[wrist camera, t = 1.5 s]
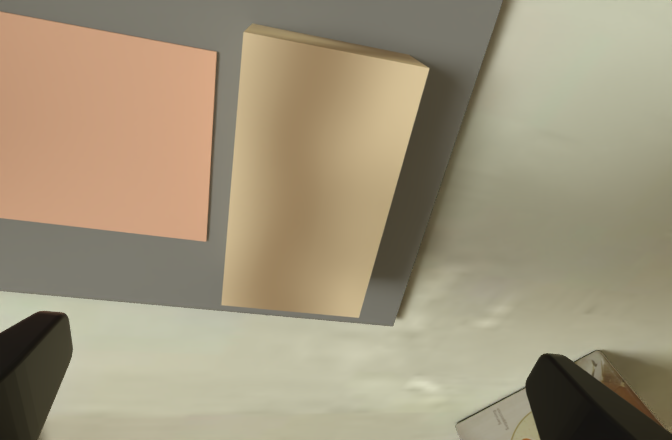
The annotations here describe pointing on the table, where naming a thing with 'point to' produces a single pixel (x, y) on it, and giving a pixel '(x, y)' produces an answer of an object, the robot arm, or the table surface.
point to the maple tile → (314, 168)
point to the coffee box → (516, 416)
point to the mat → (189, 138)
